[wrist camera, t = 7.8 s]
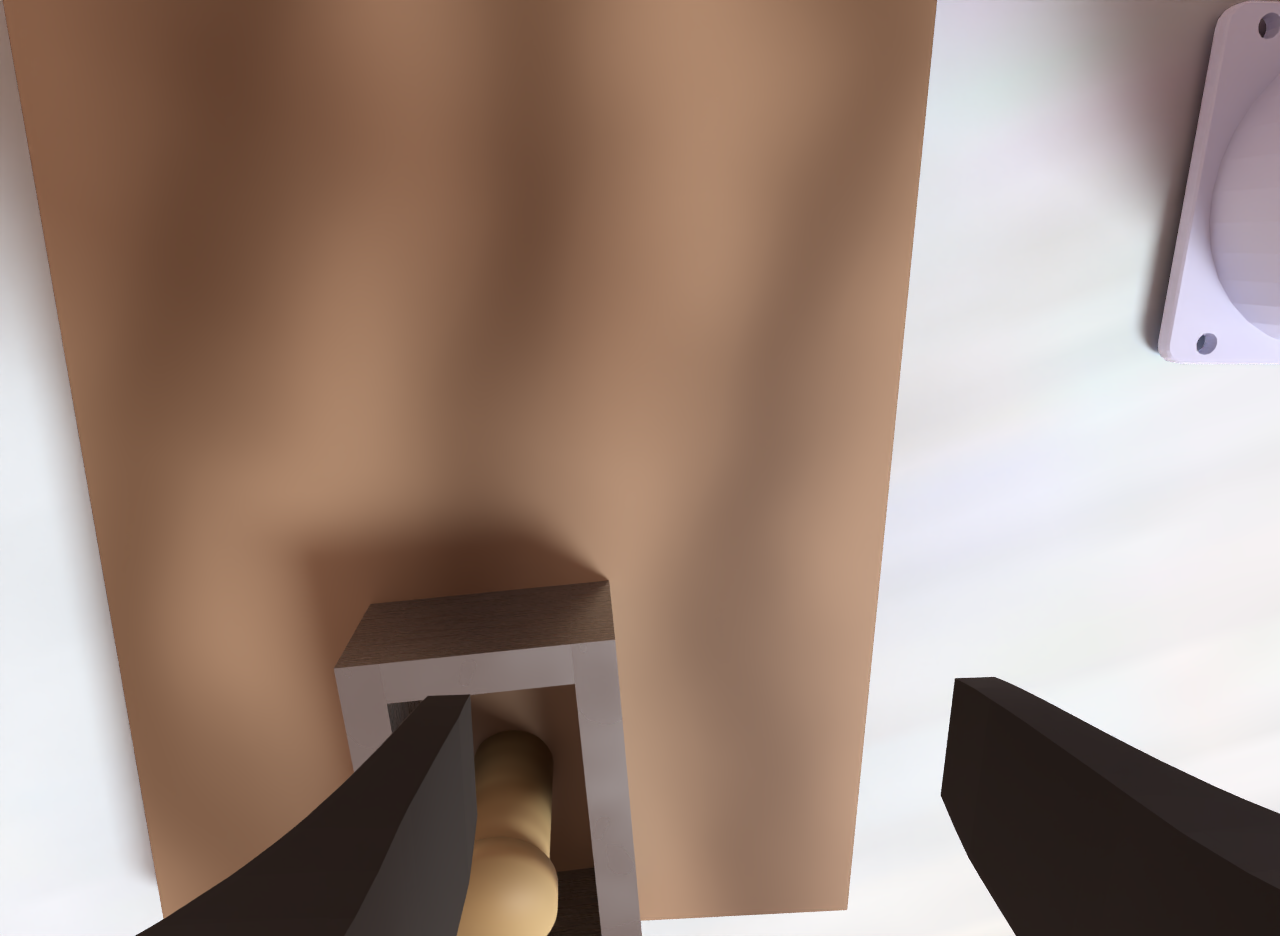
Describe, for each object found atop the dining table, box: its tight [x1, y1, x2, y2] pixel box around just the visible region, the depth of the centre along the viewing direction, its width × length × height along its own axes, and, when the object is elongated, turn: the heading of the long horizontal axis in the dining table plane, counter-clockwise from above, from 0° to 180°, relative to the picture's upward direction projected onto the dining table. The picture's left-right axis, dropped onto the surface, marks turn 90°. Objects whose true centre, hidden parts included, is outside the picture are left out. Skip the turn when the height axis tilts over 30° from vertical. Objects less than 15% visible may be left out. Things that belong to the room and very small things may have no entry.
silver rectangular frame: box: [334, 580, 642, 936], centre depth 19 cm, size 6×9×3 cm, turn 4°
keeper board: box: [3, 0, 937, 936], centre depth 17 cm, size 18×24×6 cm
